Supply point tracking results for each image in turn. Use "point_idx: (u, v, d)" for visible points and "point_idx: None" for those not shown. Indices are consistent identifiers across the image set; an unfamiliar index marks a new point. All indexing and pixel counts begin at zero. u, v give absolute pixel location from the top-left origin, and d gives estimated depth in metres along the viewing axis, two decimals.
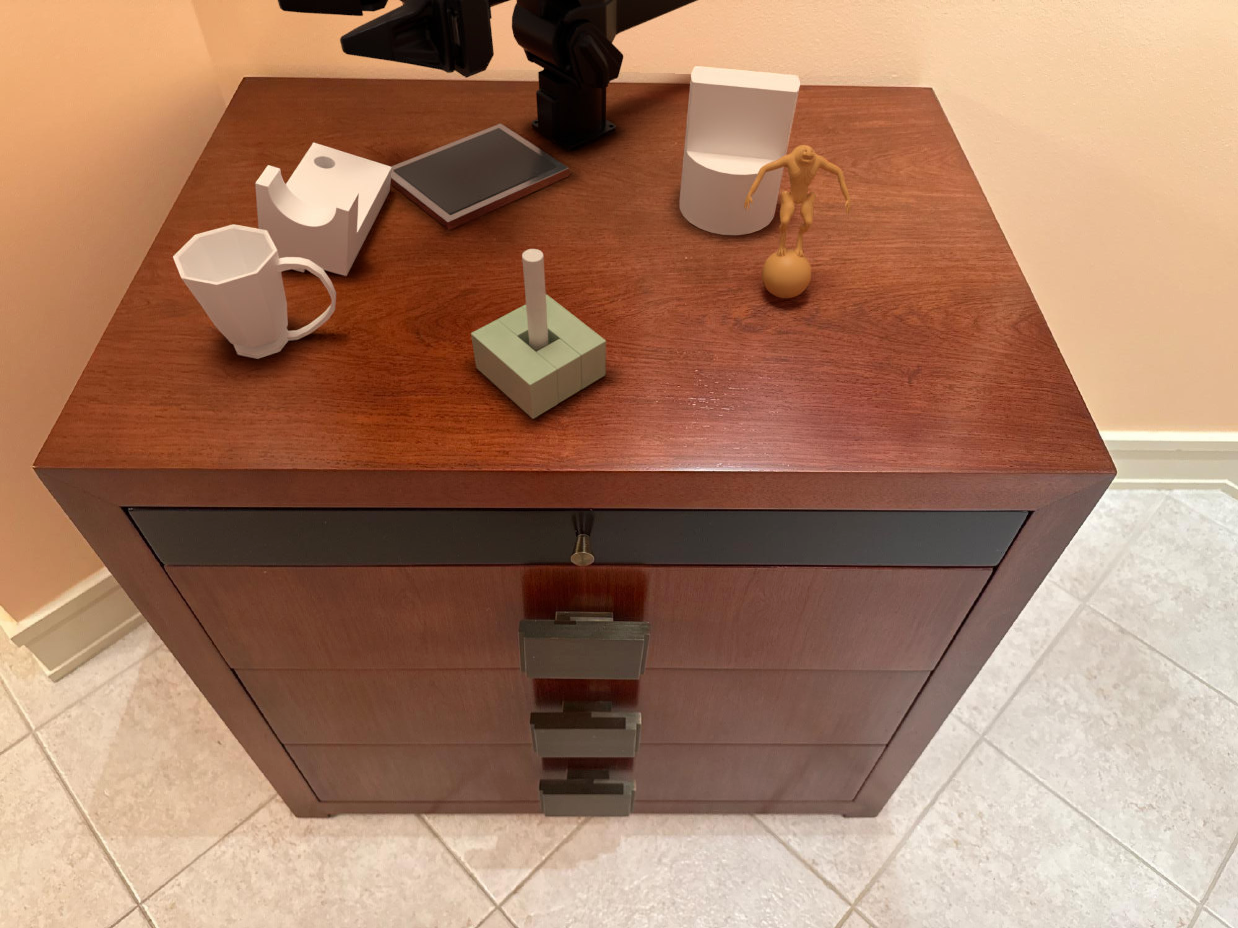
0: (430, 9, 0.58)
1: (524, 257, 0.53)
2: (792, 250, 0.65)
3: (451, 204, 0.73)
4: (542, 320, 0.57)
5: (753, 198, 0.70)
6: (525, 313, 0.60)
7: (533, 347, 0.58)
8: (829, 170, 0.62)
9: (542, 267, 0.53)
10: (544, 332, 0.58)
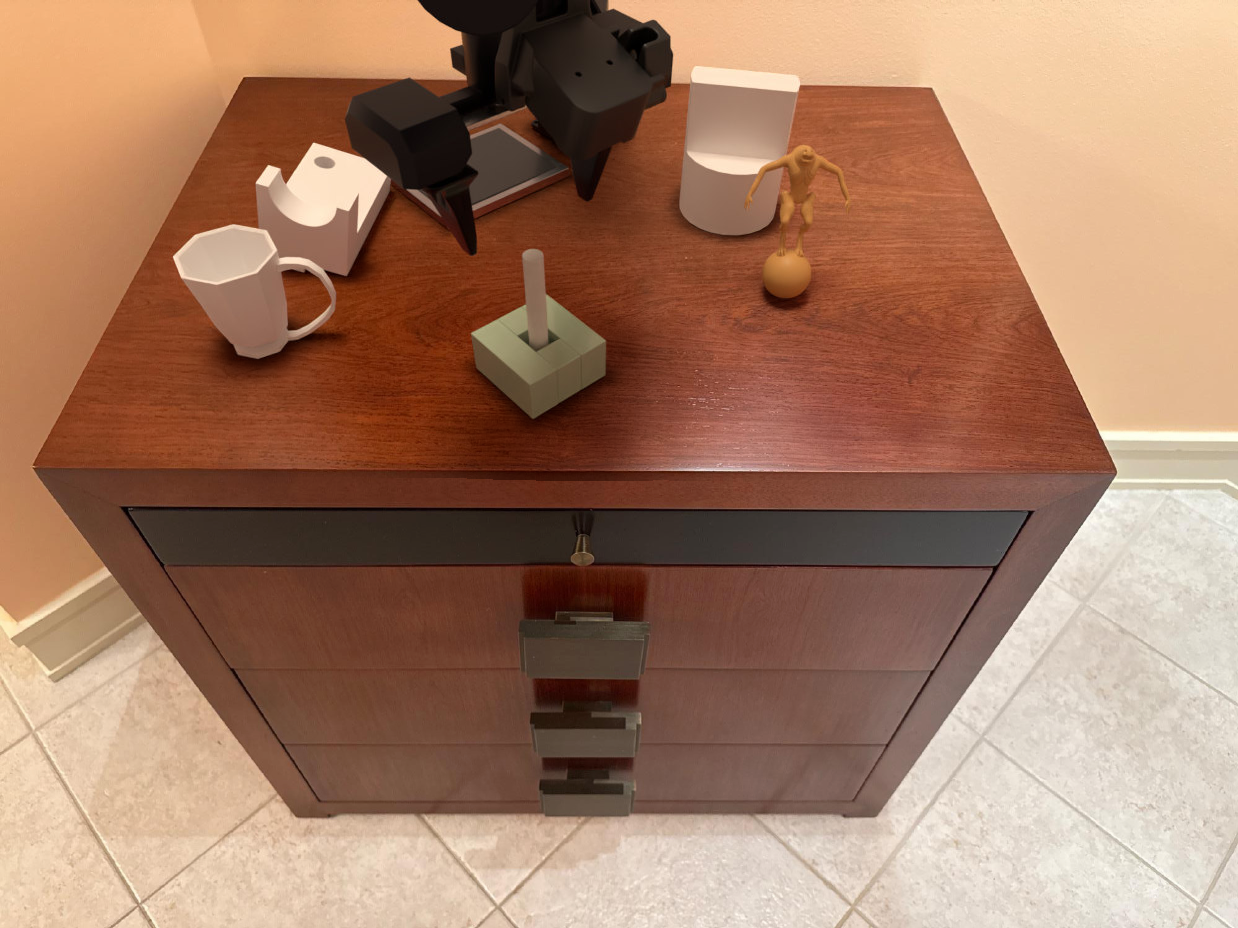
0: None
1: (524, 257, 0.53)
2: (792, 250, 0.65)
3: None
4: (542, 320, 0.57)
5: (753, 198, 0.70)
6: (525, 313, 0.60)
7: (533, 347, 0.58)
8: (829, 170, 0.62)
9: (542, 267, 0.53)
10: (544, 332, 0.58)
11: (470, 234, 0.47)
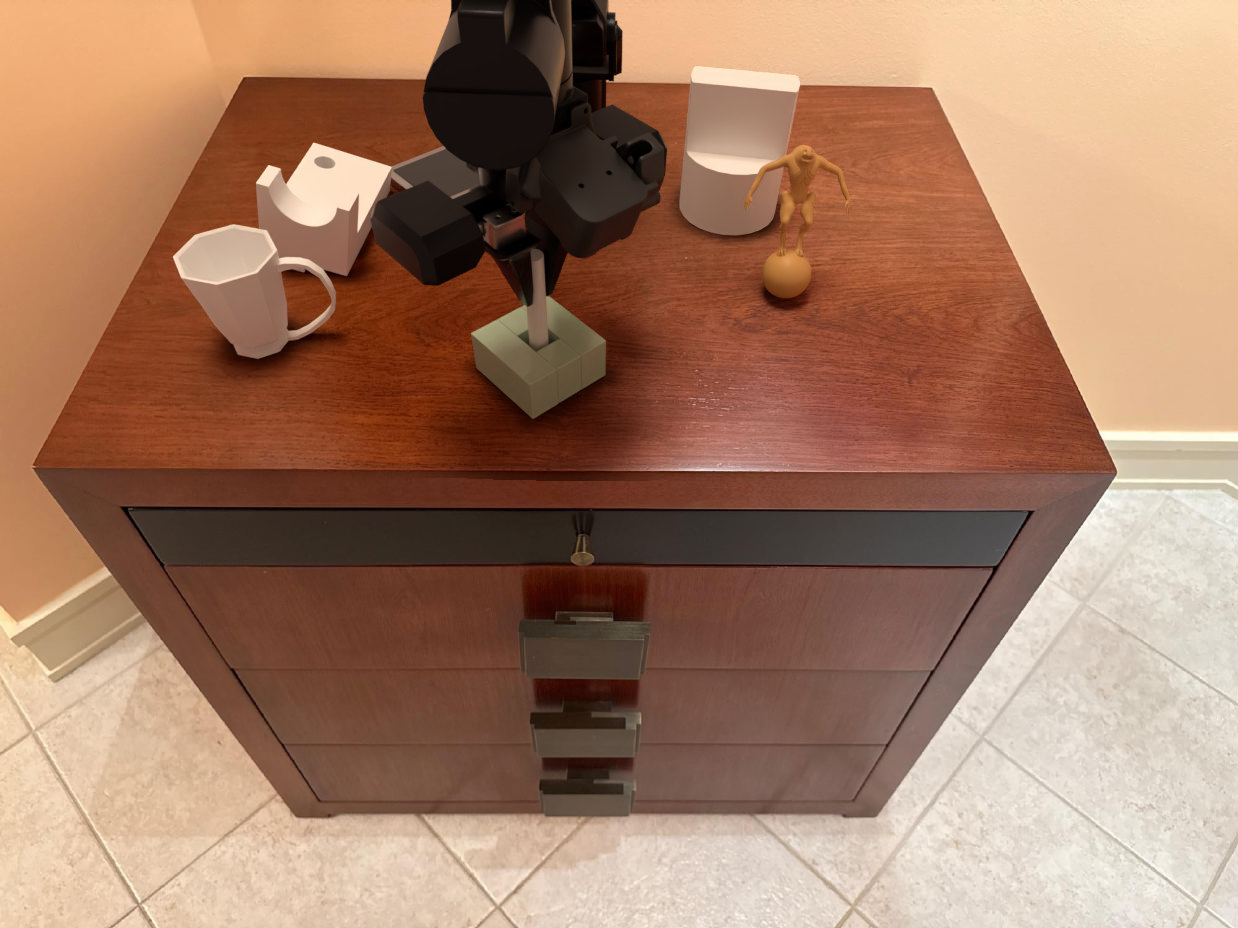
0: None
1: None
2: (792, 250, 0.65)
3: None
4: (542, 320, 0.57)
5: (753, 198, 0.70)
6: (525, 313, 0.60)
7: (533, 347, 0.58)
8: (829, 170, 0.62)
9: (542, 267, 0.53)
10: (544, 332, 0.58)
11: (528, 289, 0.53)
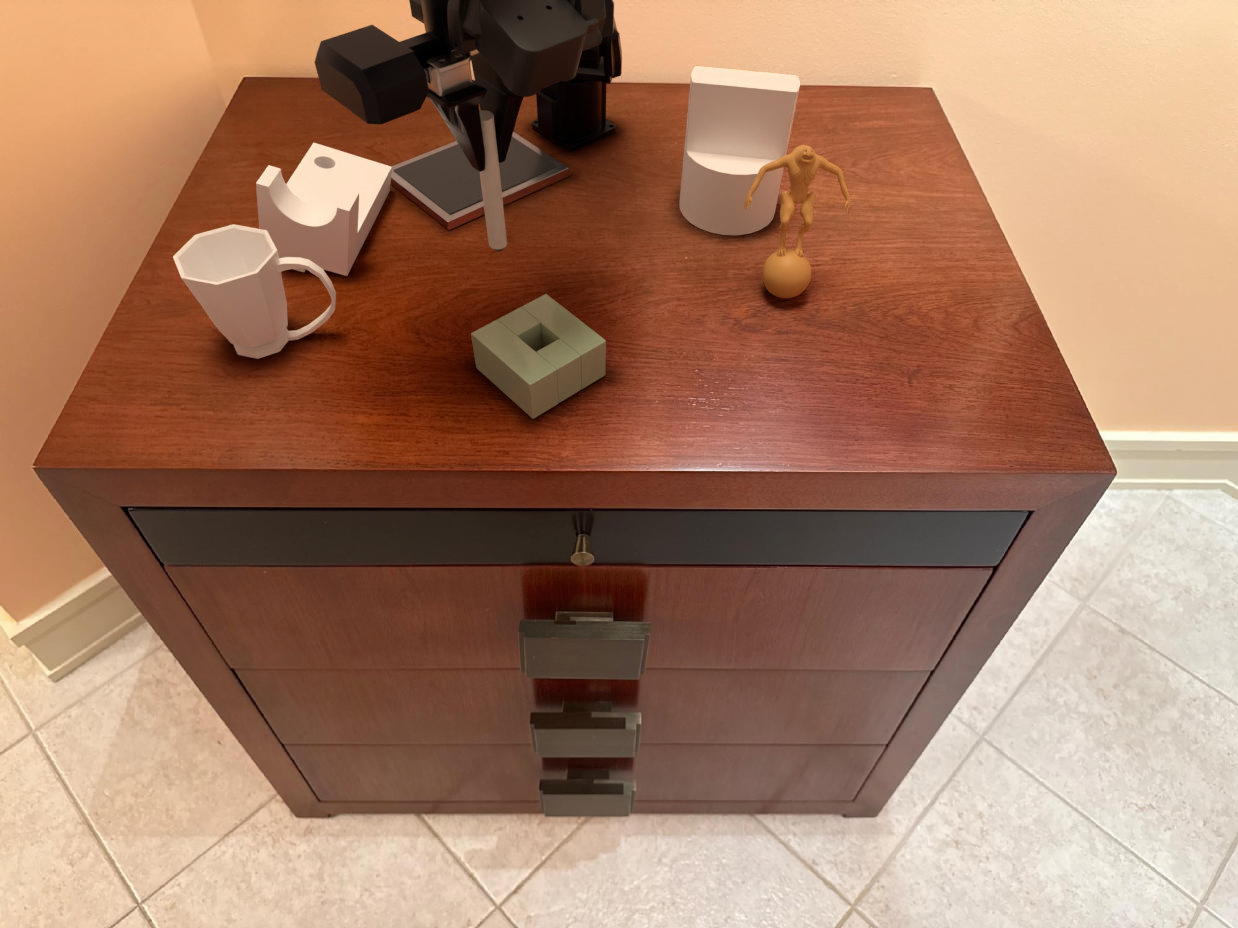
0: None
1: None
2: (792, 250, 0.65)
3: (451, 204, 0.73)
4: (496, 188, 0.57)
5: (753, 198, 0.70)
6: (525, 313, 0.60)
7: (489, 219, 0.59)
8: (829, 170, 0.62)
9: (493, 128, 0.54)
10: (498, 202, 0.58)
11: (479, 150, 0.54)
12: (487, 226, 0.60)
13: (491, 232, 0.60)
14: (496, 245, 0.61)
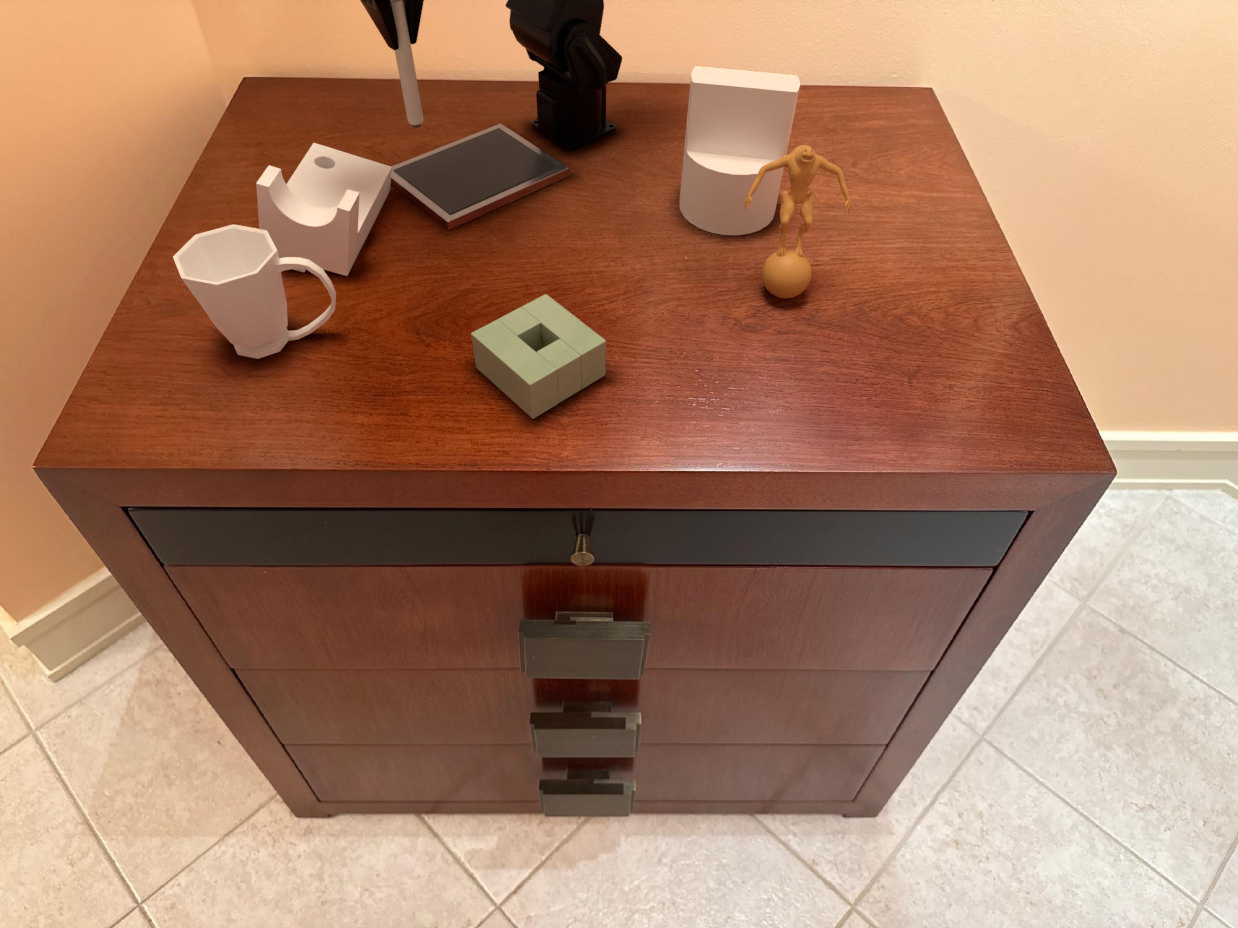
0: None
1: None
2: (792, 250, 0.65)
3: (451, 204, 0.73)
4: (409, 66, 0.68)
5: (753, 198, 0.70)
6: (525, 313, 0.60)
7: (405, 96, 0.70)
8: (829, 170, 0.62)
9: (402, 10, 0.65)
10: (413, 80, 0.69)
11: (392, 29, 0.65)
12: (405, 103, 0.71)
13: (408, 109, 0.71)
14: (413, 121, 0.72)
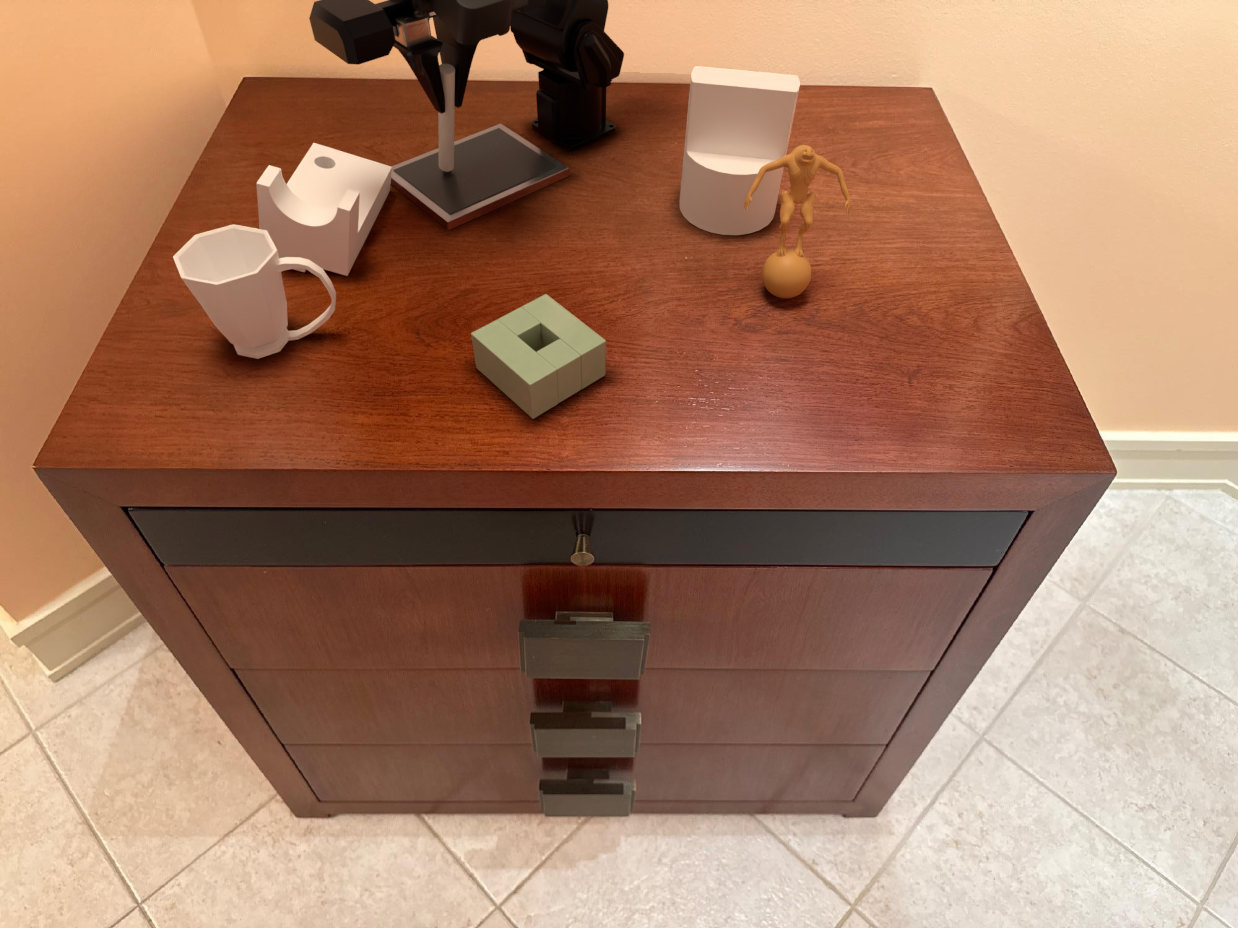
0: None
1: None
2: (792, 250, 0.65)
3: (451, 204, 0.73)
4: (450, 125, 0.72)
5: (753, 198, 0.70)
6: (525, 313, 0.60)
7: (441, 147, 0.74)
8: (829, 170, 0.62)
9: (453, 80, 0.68)
10: (451, 136, 0.73)
11: (440, 95, 0.68)
12: (439, 152, 0.74)
13: (442, 158, 0.75)
14: (445, 168, 0.76)
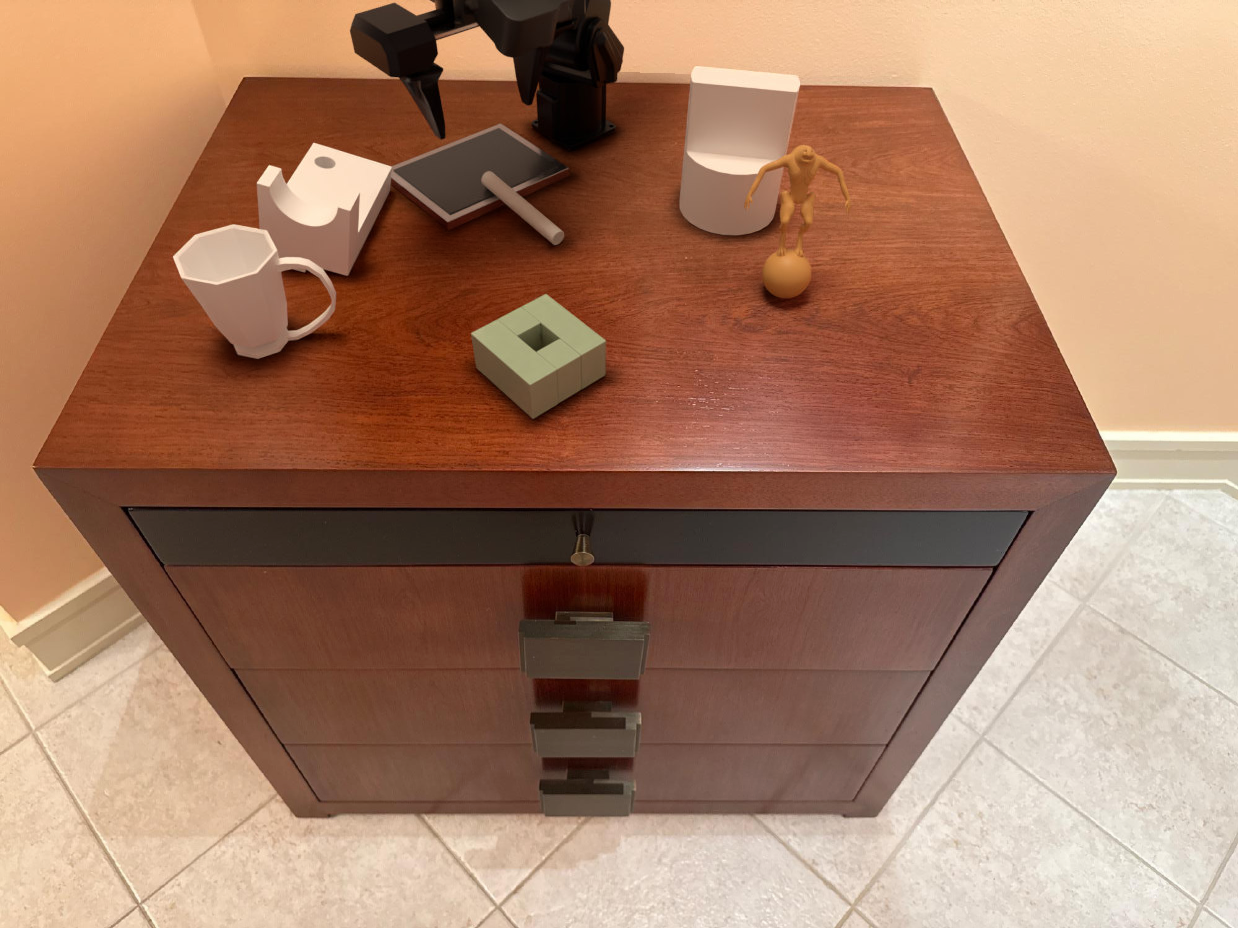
0: None
1: (553, 239, 0.70)
2: (792, 250, 0.65)
3: (451, 204, 0.73)
4: None
5: (753, 198, 0.70)
6: (525, 313, 0.60)
7: (498, 197, 0.73)
8: (829, 170, 0.62)
9: None
10: None
11: (440, 121, 0.66)
12: (493, 190, 0.74)
13: (491, 191, 0.74)
14: (485, 186, 0.75)
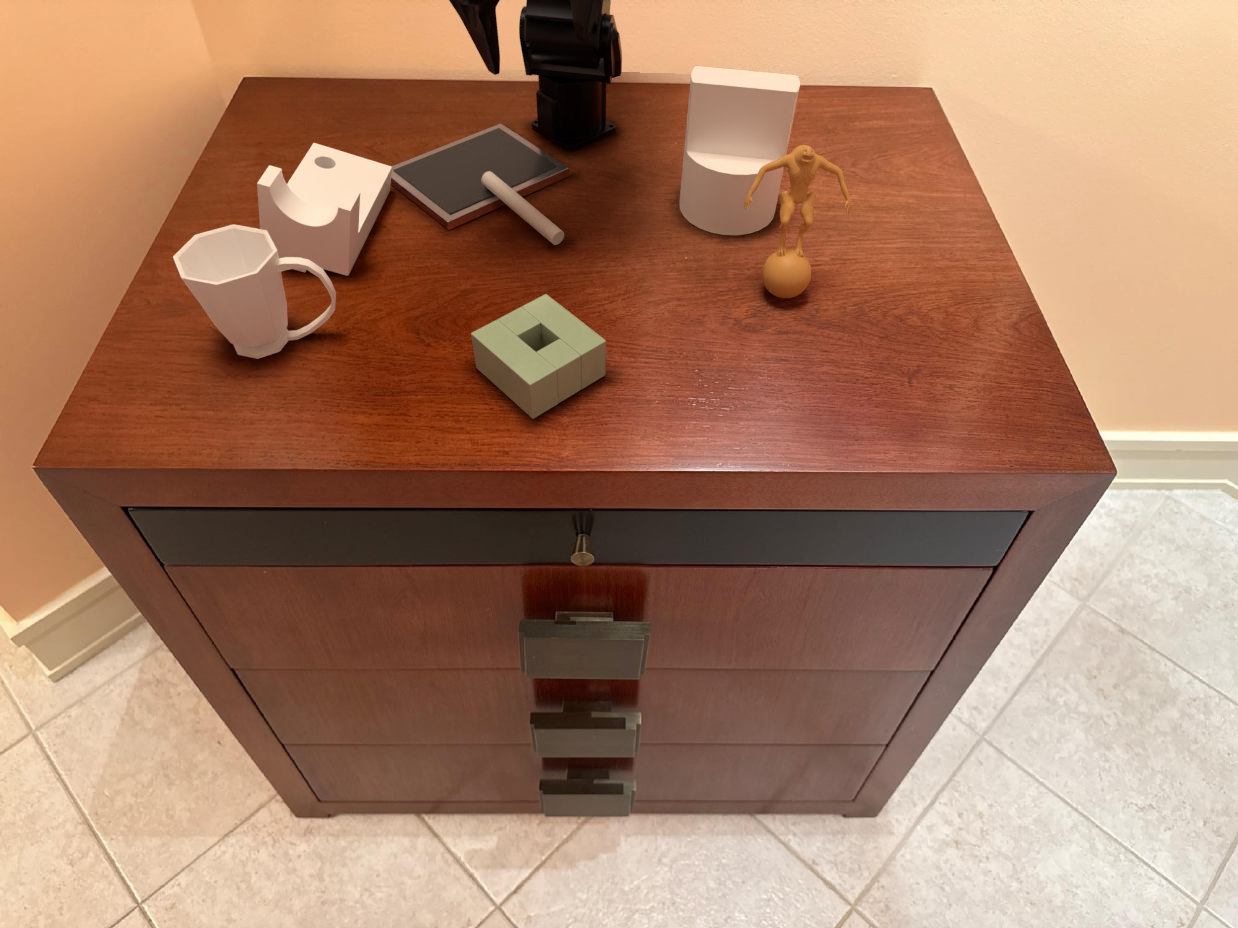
0: None
1: (553, 239, 0.70)
2: (792, 250, 0.65)
3: (451, 204, 0.73)
4: None
5: (753, 198, 0.70)
6: (525, 313, 0.60)
7: (498, 197, 0.73)
8: (829, 170, 0.62)
9: None
10: None
11: (495, 53, 0.62)
12: (493, 190, 0.74)
13: (491, 191, 0.74)
14: (485, 186, 0.75)
